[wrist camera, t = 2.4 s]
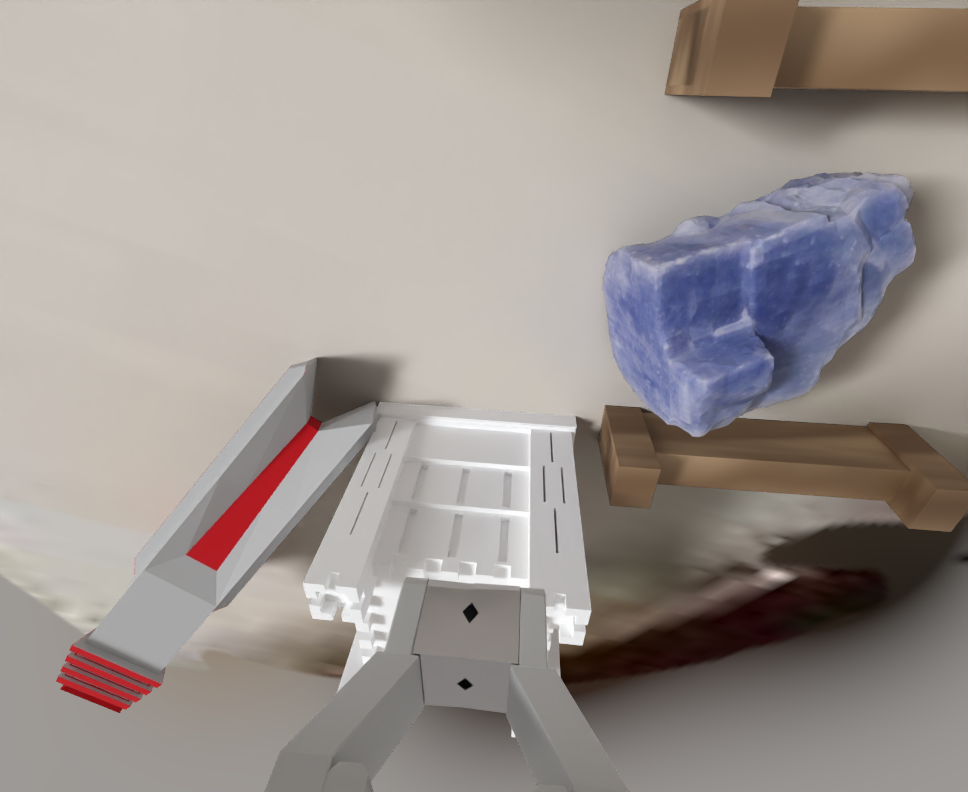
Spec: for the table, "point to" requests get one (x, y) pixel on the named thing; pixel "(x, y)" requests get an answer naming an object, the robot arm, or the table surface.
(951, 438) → the table surface
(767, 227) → the mineral
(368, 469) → the castle model
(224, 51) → the table surface
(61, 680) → the toy gun
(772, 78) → the wooden brackets
